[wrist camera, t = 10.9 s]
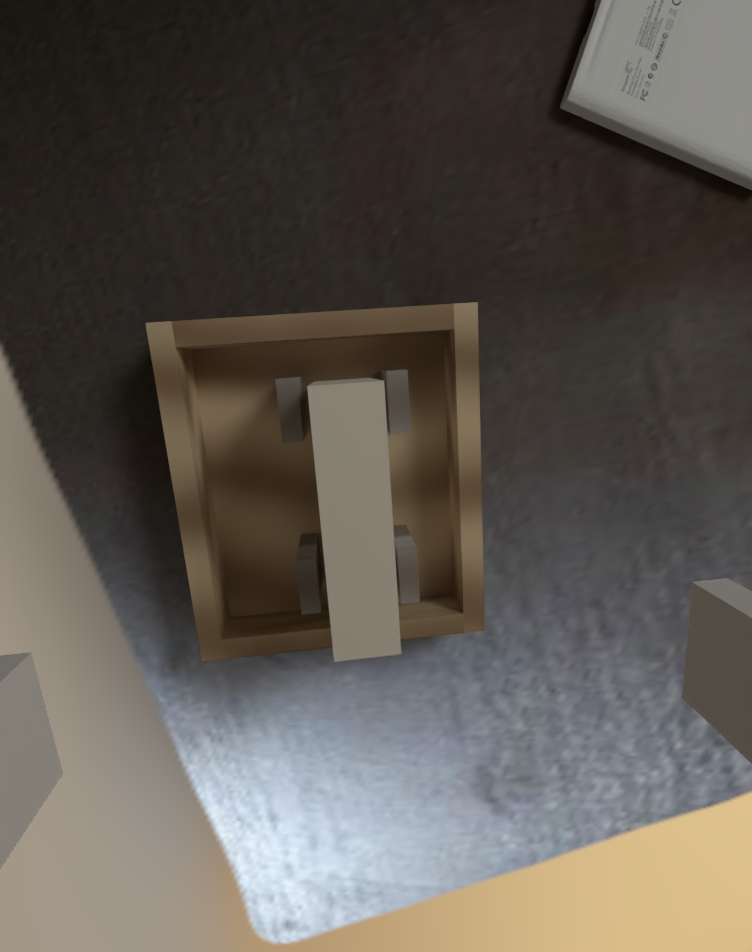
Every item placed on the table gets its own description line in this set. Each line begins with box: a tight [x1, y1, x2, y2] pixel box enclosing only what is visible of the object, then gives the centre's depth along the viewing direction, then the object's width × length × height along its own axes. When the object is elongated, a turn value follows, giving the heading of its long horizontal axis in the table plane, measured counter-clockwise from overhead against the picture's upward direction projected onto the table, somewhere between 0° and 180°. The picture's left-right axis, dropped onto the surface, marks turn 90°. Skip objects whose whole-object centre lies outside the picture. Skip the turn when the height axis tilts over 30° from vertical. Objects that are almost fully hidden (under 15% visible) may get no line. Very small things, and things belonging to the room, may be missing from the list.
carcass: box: [146, 302, 485, 662], centre depth 26 cm, size 18×16×5 cm
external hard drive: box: [560, 0, 752, 190], centre depth 26 cm, size 2×8×12 cm
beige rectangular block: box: [307, 378, 401, 662], centre depth 24 cm, size 12×3×8 cm, turn 4°
